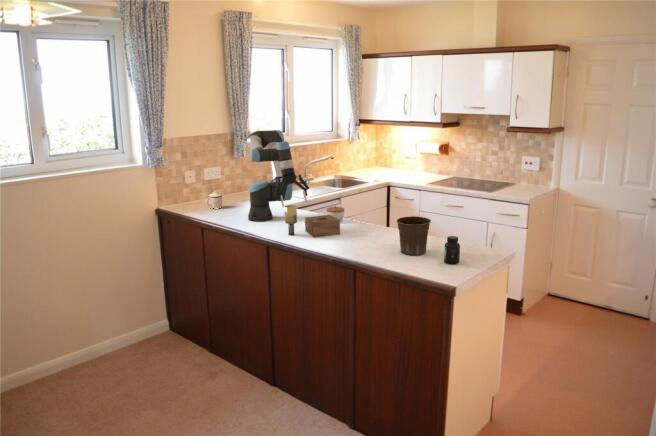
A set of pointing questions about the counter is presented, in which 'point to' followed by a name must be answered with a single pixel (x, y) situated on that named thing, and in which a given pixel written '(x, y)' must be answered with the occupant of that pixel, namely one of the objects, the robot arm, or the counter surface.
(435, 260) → the counter surface
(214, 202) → the teacup with lid
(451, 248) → the supplement bottle
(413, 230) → the plant pot
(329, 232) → the block
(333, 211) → the lidded jar
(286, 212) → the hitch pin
